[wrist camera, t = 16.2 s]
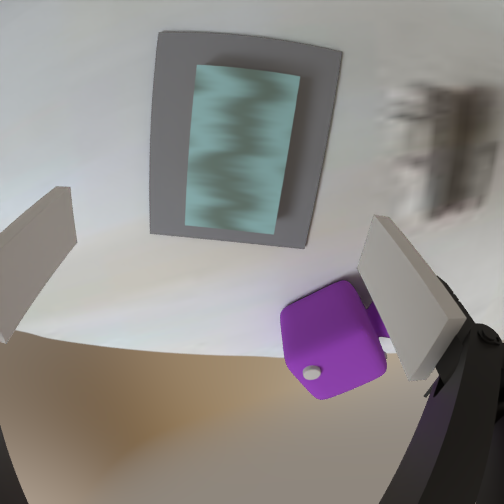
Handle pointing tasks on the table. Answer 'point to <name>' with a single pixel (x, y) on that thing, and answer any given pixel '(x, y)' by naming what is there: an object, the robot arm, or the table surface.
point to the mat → (179, 124)
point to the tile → (238, 147)
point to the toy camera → (333, 341)
